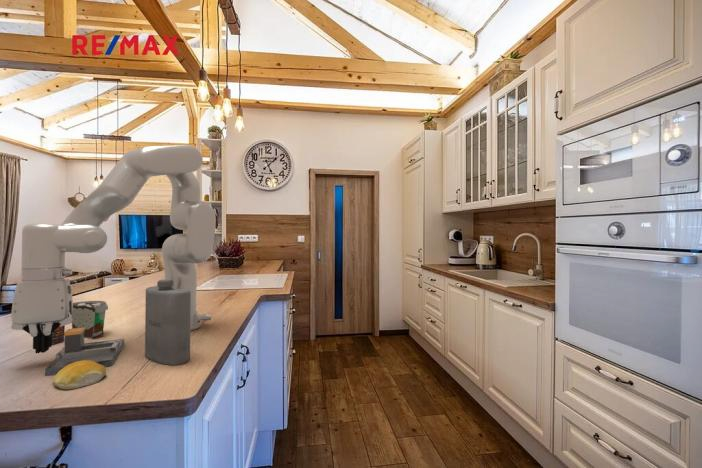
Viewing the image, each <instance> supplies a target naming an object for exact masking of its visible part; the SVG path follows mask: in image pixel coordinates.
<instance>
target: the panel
mask: <svg viewBox="0 0 702 468" xmlns="http://www.w3.org/2000/svg"><path fill="white" fill-rule="evenodd" d="M124 345H125V338H119V339H111V340H110V339H109V340H101V341H95V342H92V341H91V342H84V350H80V351H72V352H65V346H63V348H62V349H61V350H60V351H58V352H57V353H56V354H55V359H54V360H53V361H52V362H51V363H50V364H49V365H48V366H47V367H45V368H44V376H46V377H47V376H51V375H53V376H54V375H56V374H57V373H58V372H59V371H60V370H61V369H63V368H64V367H65V366H67V365H69V364H71V363H74V362H77V361H82V360H92V361H94V362H96V363H98V364H100V365H103V366H104V367H105V368H107V367H112V366H113V365H114V363H115V361H116V360H117V358H118V356H119V354H120V353H121V351H122V349H123V347H124Z"/></svg>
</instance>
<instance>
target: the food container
mask: <svg viewBox="0 0 702 468" xmlns="http://www.w3.org/2000/svg"><path fill="white" fill-rule="evenodd" d="M107 310H109V305H108V303H107V302H106V301H104V300H84V301H76V302H73V313H72V315H71V318H72V323H71V329H73V328H83V327H85V331H84V339H88V340H89V339H90V340H95V339H97V338H101V337H102V336H103V335H104V328H105V317H106V311H107Z"/></svg>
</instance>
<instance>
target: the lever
mask: <svg viewBox="0 0 702 468" xmlns="http://www.w3.org/2000/svg"><path fill="white" fill-rule="evenodd" d="M84 331H85V327H83V328H73V329H72V328H68V329H67V330H65V332H64V347H65V352H72V351H80V350H84V343H85V338H84Z"/></svg>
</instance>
